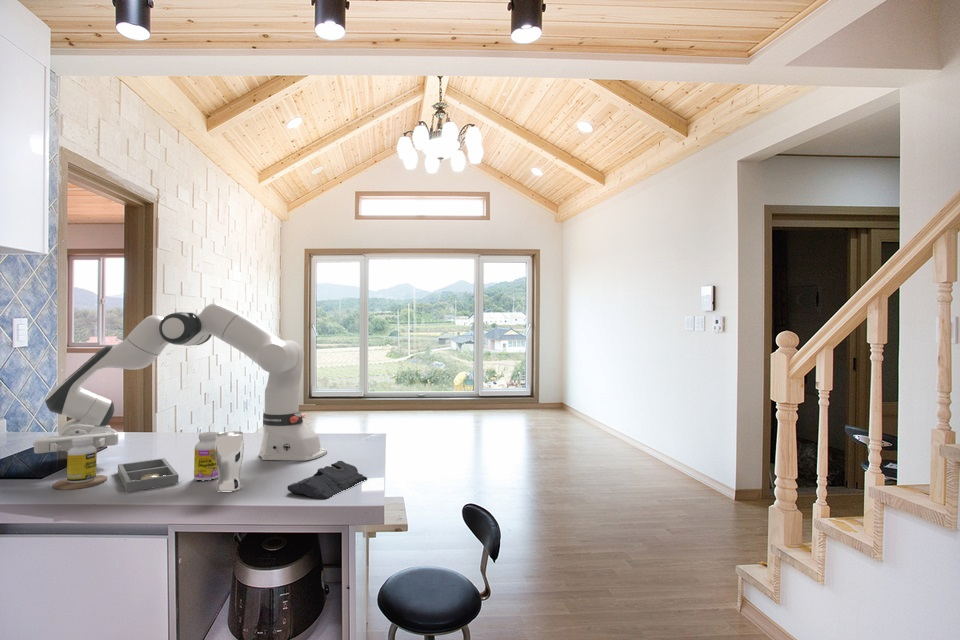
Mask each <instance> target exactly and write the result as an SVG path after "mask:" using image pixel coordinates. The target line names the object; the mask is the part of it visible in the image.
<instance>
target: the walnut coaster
mask: <svg viewBox="0 0 960 640" xmlns="http://www.w3.org/2000/svg"><path fill="white" fill-rule="evenodd" d="M107 480H108V476H107V475H103V474H96V478H95V479H94V480H92V481H88V482H83V483H69V482H68V481H67V478H64V479H61V480H58V481H55V482H54V483H52V489H54V490H58V491H61V490H62V491H69V490H70V489H72V490H81V489H85V488H92V487H94V486H95V487H96V486H98V485H101V483H102V484H103V483H105V481H106V482H107Z"/></svg>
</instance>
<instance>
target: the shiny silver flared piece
mask: <svg viewBox="0 0 960 640" xmlns="http://www.w3.org/2000/svg"><path fill="white" fill-rule="evenodd" d="M244 444H245V443H244V432H243V431H238V430H232V431H231V430H229V431H221V432H218V433H217V434H216V443H215V458H216V465H217V470H218V478H217V484H216V490H217V491H234V492H237V491H240V490H242V484H241V475H240V474H241V468H242V463H243V459H244V452H245V451H244V449H245V448H244ZM216 490H215V491H216ZM236 490H237V491H236ZM217 491H216V492H217Z"/></svg>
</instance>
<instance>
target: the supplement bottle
mask: <svg viewBox="0 0 960 640" xmlns="http://www.w3.org/2000/svg"><path fill="white" fill-rule="evenodd" d="M216 434H218V433H217V432H215V431H209V432H207V431H205V432H201V433H198V440H199V442H197V443H196V444H195V445H194V458H193V459H194V463H193V465H194V468H193V478H194V480H195V481H197V480H208V481H211V480H210V479H214V478H216V479H218V478H217V477H218V470H217V465H216V458H215V443H216ZM214 480H215V479H214Z"/></svg>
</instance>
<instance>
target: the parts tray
mask: <svg viewBox="0 0 960 640" xmlns="http://www.w3.org/2000/svg"><path fill="white" fill-rule="evenodd" d="M117 474H118V476H119V479H120V480H121V481H120V482H121V483H122V485H123V487H124V489H125V492H126V493H130V492H136V491H141V490H147V489H153V488H154V489H155V488H159V487H165V486H166V485H167V486H172V485H171V484H173V485H177V484H176V483H178V484H179V479H180V478H179V473H178V472H177V471H176V469H174V467H173V466H172V465H171V464H170V463H169V461H167V459H166V457H164V458H156V459H149V460H139V461H133V462H126V463H118V464H117ZM148 474H159V476H160V477H154V478H147V479H141V476H144V475H148ZM163 475H167V476H163ZM138 479H140V480H138ZM132 480H134V481H132ZM167 486H166V487H167Z"/></svg>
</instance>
